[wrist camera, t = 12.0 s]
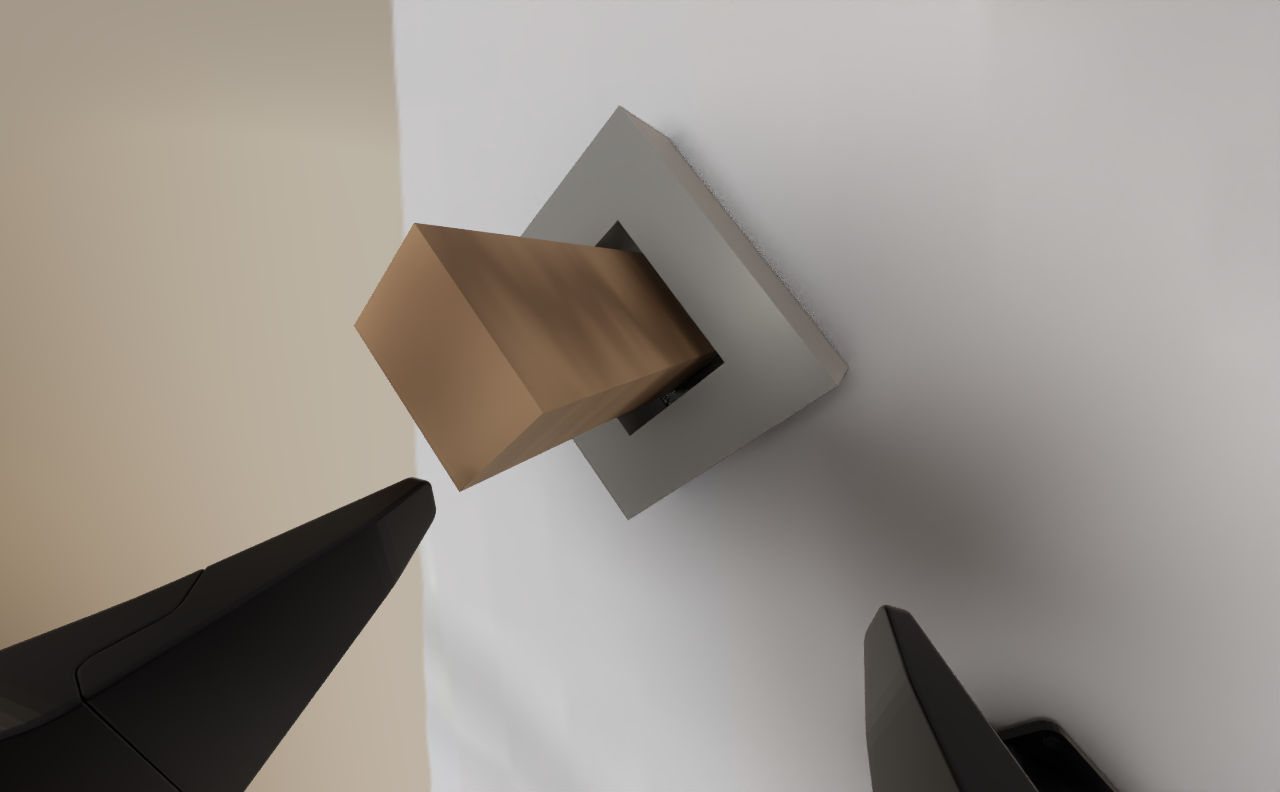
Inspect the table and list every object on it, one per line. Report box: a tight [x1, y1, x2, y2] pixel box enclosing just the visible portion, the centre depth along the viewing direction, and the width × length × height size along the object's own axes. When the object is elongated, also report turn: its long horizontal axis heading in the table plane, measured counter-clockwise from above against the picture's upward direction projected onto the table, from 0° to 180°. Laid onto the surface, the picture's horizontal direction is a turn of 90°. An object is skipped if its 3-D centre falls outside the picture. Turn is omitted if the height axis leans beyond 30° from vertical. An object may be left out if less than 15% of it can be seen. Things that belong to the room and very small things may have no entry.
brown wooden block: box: [354, 223, 719, 492], centre depth 16 cm, size 5×4×12 cm
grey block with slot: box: [521, 105, 849, 520], centre depth 20 cm, size 12×10×4 cm
